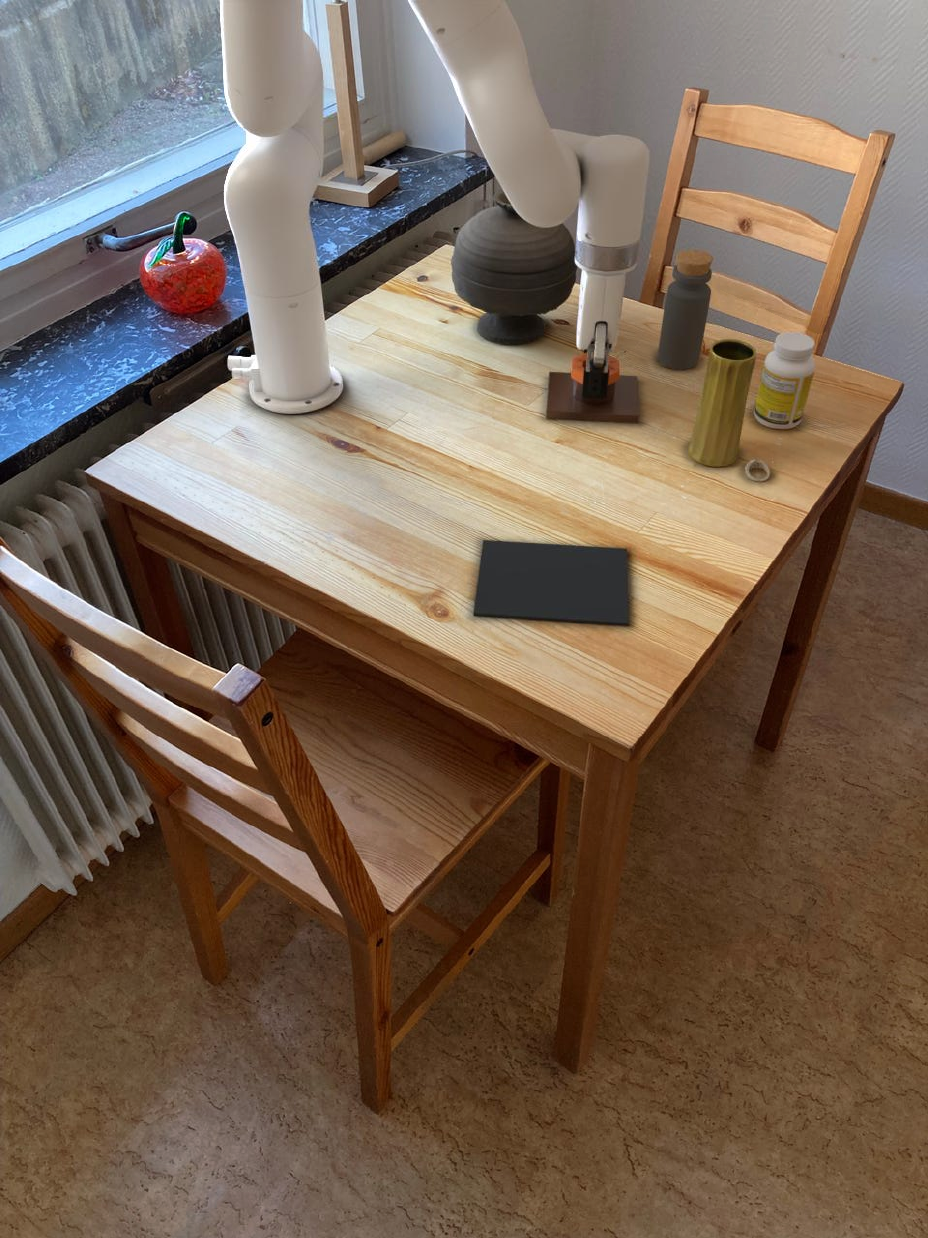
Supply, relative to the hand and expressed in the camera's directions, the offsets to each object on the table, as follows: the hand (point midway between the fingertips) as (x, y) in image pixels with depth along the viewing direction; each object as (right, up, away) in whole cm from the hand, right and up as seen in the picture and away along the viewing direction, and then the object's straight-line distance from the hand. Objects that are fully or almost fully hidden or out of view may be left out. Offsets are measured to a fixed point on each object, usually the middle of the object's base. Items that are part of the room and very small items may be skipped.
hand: (594, 381), depth 131 cm
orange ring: (0, +1, -1) cm, 1 cm away
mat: (-8, -27, -24) cm, 37 cm away
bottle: (+13, +5, +10) cm, 17 cm away
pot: (-10, +12, +17) cm, 23 cm away
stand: (0, -2, +2) cm, 3 cm away
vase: (+14, -11, -7) cm, 19 cm away
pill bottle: (+24, -5, -1) cm, 24 cm away
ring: (+18, -14, -10) cm, 25 cm away
